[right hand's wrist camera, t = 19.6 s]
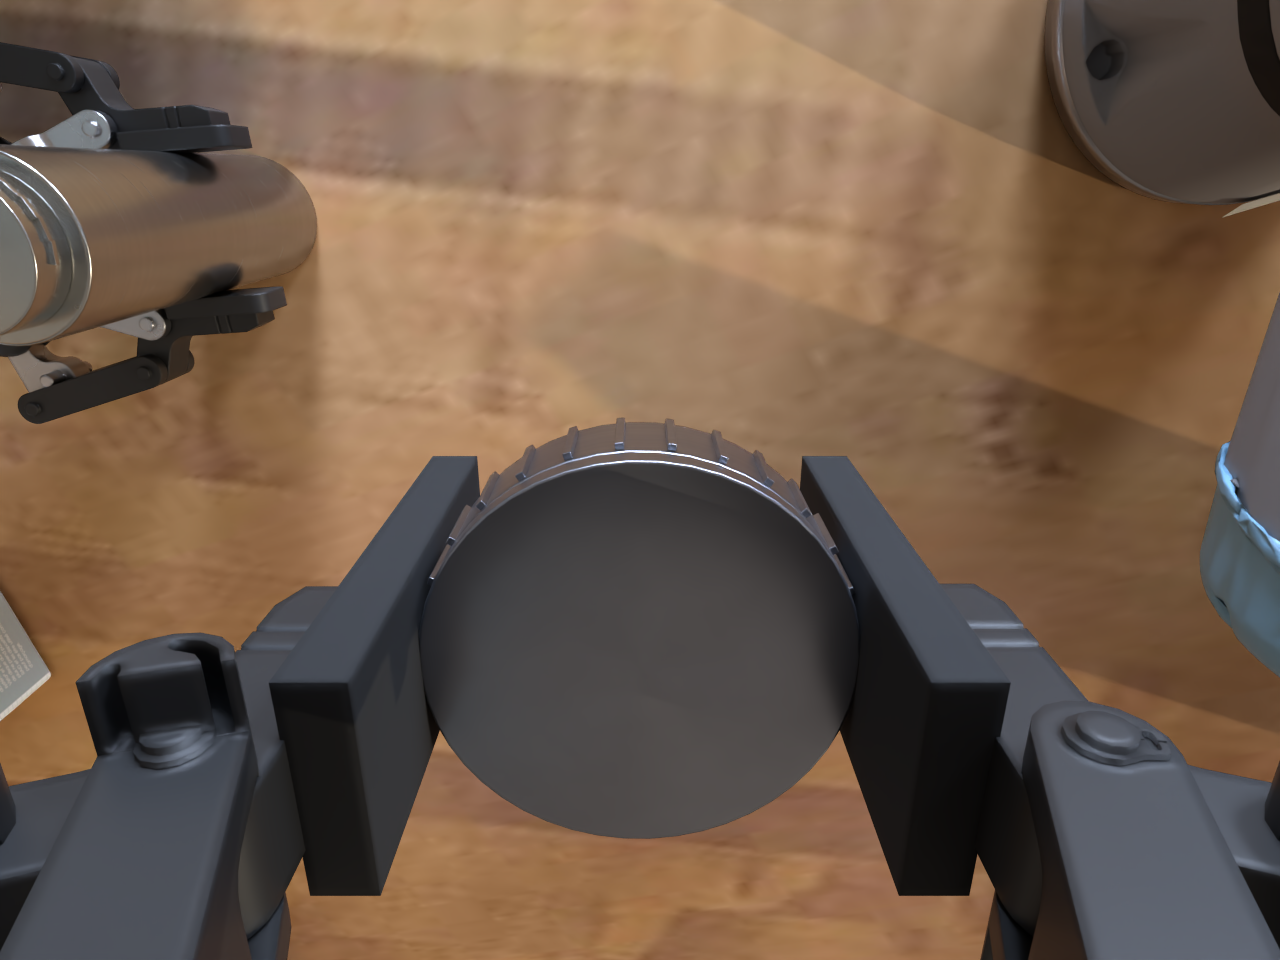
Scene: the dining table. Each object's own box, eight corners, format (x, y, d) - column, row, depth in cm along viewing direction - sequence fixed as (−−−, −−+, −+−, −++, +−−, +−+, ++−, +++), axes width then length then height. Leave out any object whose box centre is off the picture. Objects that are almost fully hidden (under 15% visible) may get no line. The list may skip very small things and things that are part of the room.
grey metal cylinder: (309, 155, 34) (24, 141, 18) (325, 276, 36) (77, 358, 20) (191, 155, 34) (-196, 140, 18) (213, 275, 36) (-123, 357, 20)
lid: (383, 677, 12) (347, 749, 11) (542, 341, 10) (526, 369, 9) (716, 814, 13) (725, 896, 12) (915, 527, 11) (957, 582, 10)
